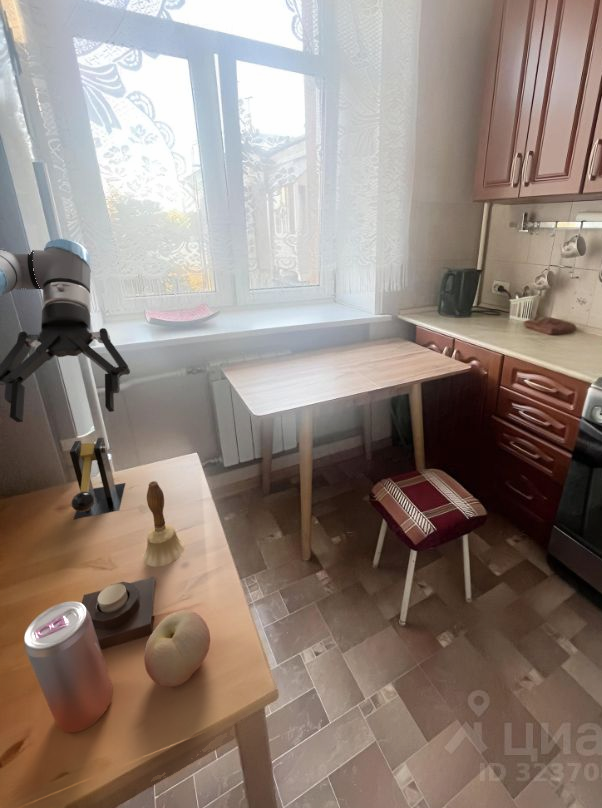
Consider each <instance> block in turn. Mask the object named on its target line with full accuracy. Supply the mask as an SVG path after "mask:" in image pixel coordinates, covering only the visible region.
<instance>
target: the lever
mask: <svg viewBox="0 0 602 808" xmlns="http://www.w3.org/2000/svg"><path fill="white" fill-rule="evenodd" d="M81 444H82V445H81V453H80V456H81V458H82V460H83V462H84V466H83V474H82V482H81V491H80V490H79V491H80V492H78V493H76V494H75V495H74V496H73V497H72V499H71V502H70V503H71V504H70V505H71V507H72V509H73V510H74V511H75V512H76V511H79V512H84V511H87V510H89V509H91V508H92V507H93V505H94V504H95V497H94V495H93V494H92V493H90V492H89V485H90V478H91V476H92V475H91V474H92V465H93V461H97V460H96V456H95V452H94V447H95V444H96V442H87V443H81Z"/></svg>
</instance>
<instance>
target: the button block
mask: <svg viewBox="0 0 602 808" xmlns="http://www.w3.org/2000/svg"><path fill="white" fill-rule="evenodd" d="M113 584H114V583H113ZM113 584H111V585H113ZM115 584H123V585H124V586H125V588H126V591H127V595H128V599H127V602H126V603H125V605H124V606H123V607H121V608H120V609H118V610H116V611H114V612H110V613H104V612H102V611H101V610H100V607H99V603H98V596H99V594H100V593H101V591H102V590H104V589H105V588H103V589H101V590H97V591H94V592H90V593H86V594H83V597H82V600H81V602H80V603H81V604H83V605H84V606H85V608H86V610H88V612H89V613H90V616H91V619H92V623H93V626H94V629H95V632H96V636H97V639H98V642H99V645H100V648H101V651H102V650H105V649H109V648H113V647H115V646H118V645H122V644H126V643H128V642H131V641H135V640H138V639H141V638H144V637H148V636H151V634H152V633H153V631H154V626H155V624H154V623H155V615H154V607H155V595H156V584H157V583H156V577H155V576H151V577H147V578H144V579H140V580H136V581H132V582H128V581H121V582H116V583H115Z"/></svg>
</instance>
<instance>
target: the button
mask: <svg viewBox="0 0 602 808" xmlns="http://www.w3.org/2000/svg"><path fill="white" fill-rule="evenodd" d="M103 589H104V590H103ZM103 589H101V590H102V591H101V590H100V591H101V593H100V594H99V596H98V603H99V607H100V610H101V611H102V612H104V613H110V612H114V611H116V610H118V609H120V608H121V607H123V606H124V605H125V603H126V602H127V599H128V595H127V591H126V588H125V586H124V585H123V584H116V583H113V585H112V584H109V585H108V586H107V587H105V588H103Z"/></svg>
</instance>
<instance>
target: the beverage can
mask: <svg viewBox="0 0 602 808" xmlns="http://www.w3.org/2000/svg"><path fill="white" fill-rule="evenodd" d="M81 603H82V602H80V601H65V602H61V603H58V604H55V605H53V606H51V607H49V608H47V609H45V610H44V611H43V612H41V613H40V614H39V615H37V616H36V617H35V618H34V619H33V620H32V621H31V623H30V624H29V625H28V626H27V628H26V630H25V632H24V636H23V637H24V638H23V641H24V650H25V653H26V655H27V658H28V660H29V663H30V665H31V667H32V669H33V673H34V675H35V677H36V679H37V682H38V684H39V686H40V689H41V691H42V692H41V693H42V694H43V696H44V698H45V701H46V703H47V706H48V708H49V710H50V714H51V715H52V718H53V720H54V722H55V726H56V727H57V728H58V730H59V731H61V732H65V733H77V732H80V731H83V730H86V729H87V728H89V727H91V726H92V725H94V724H95V723H97V721H98V720H100V718H101V717H102V716H103V715H104V713H105V712H106V711H107V709H108V707H109V705H110V704H111V701H112V698H113V694H114V689H113V688H114V687H113V684H112V681H111V677H110V675H109V671H108V667H107V666H106V662H105V659H104V655H103V652H102V650H101V648H100V645H99V642H98V639H97V636H96V632H95V629H94V626H93V623H92V619H91V616H90V613H89V612H88V610H86V608H85V606H84V605H83V604H81Z"/></svg>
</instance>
